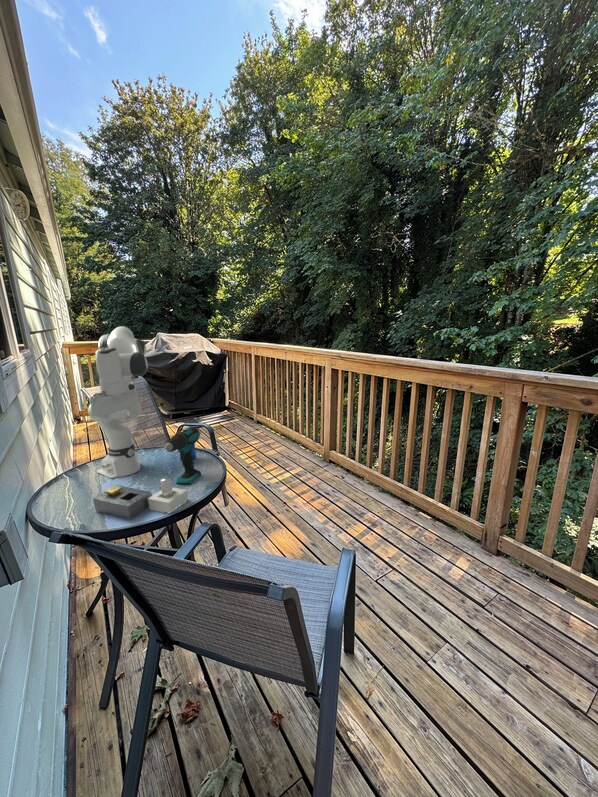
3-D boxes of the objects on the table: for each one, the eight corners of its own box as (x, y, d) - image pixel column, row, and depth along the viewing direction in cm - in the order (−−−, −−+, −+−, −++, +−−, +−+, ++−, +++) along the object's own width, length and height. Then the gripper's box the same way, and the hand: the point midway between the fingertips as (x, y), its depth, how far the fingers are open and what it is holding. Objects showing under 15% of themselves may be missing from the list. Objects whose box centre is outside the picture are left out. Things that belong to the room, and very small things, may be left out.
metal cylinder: (162, 507, 147) (158, 481, 144) (166, 502, 151) (162, 477, 148) (172, 507, 147) (168, 481, 144) (175, 502, 150) (171, 476, 148)
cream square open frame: (149, 509, 146) (147, 498, 145) (168, 496, 156) (167, 486, 154) (170, 513, 142) (168, 502, 140) (188, 500, 151) (186, 490, 150)
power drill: (181, 495, 156) (173, 443, 150) (163, 494, 158) (155, 442, 152) (207, 470, 181) (201, 424, 175) (191, 469, 183) (185, 423, 177)
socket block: (95, 511, 147) (92, 498, 145) (119, 497, 157) (117, 485, 156) (130, 519, 139) (128, 506, 137) (153, 504, 150) (151, 491, 148)
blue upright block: (195, 463, 189) (191, 436, 186) (179, 465, 189) (175, 437, 185) (198, 457, 198) (194, 430, 194) (183, 458, 197) (179, 432, 193)
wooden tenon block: (106, 506, 149) (103, 491, 147) (116, 501, 153) (113, 485, 151) (115, 508, 147) (112, 492, 145) (125, 502, 151) (122, 487, 149)
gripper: (95, 395, 129) (102, 430, 132) (139, 384, 147) (144, 415, 150) (83, 394, 131) (90, 429, 134) (128, 383, 149) (133, 414, 153)
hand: (119, 421), depth 142 cm, fingers open, 8 cm apart
